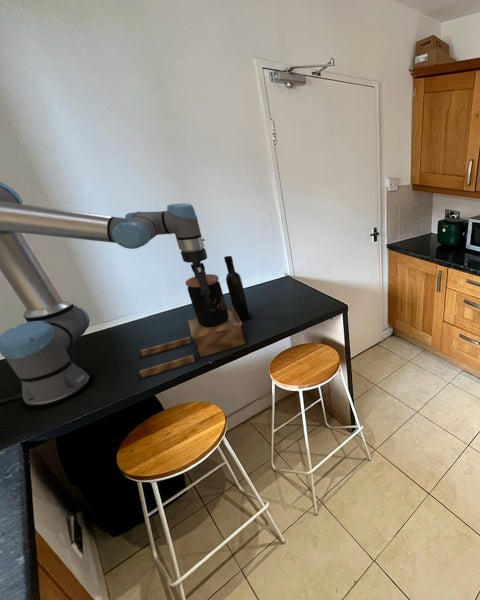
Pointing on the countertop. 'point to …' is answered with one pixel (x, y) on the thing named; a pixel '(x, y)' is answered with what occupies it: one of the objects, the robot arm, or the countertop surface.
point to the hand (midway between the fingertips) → (208, 302)
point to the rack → (200, 342)
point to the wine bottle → (236, 290)
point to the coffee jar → (204, 316)
